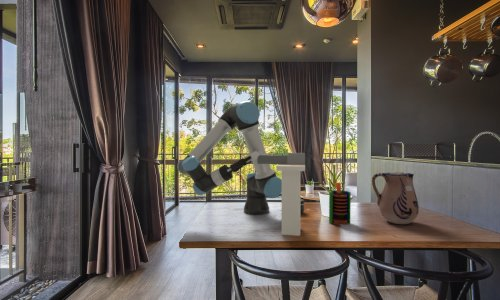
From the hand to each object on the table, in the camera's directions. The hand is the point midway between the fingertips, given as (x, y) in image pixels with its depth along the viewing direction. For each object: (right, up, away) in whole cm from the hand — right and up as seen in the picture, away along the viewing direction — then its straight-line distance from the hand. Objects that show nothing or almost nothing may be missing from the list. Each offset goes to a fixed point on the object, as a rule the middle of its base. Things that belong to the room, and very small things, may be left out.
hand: (259, 152), depth 136 cm
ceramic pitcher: (+69, -35, +9) cm, 78 cm away
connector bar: (+10, -5, -1) cm, 11 cm away
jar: (+22, -35, +31) cm, 52 cm away
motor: (+40, -36, +8) cm, 54 cm away
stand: (+14, -35, -7) cm, 39 cm away
